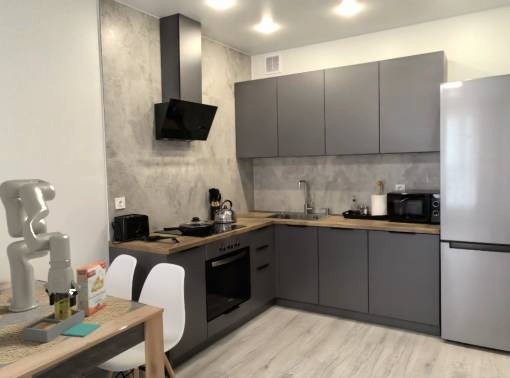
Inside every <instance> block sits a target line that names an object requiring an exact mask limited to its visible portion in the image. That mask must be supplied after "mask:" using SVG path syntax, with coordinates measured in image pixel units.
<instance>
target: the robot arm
mask: <svg viewBox="0 0 510 378" xmlns="http://www.w3.org/2000/svg"><path fill="white" fill-rule="evenodd" d="M56 193H57V192H56V189H55V187H54V185H53V184H52V183H50V182H49V181H45V180H42V179H38V178H30V179H11V180H6V181H2V183H0V200H1V203H2V205H3V206H4V210H5V218H6V226H7V232H8V236H10V237H11V238H12V239H18V238H19V239H20V238H23V239H21V240H16V241H12V242H11V243H9V244H8V245H7V246H6V256H7V259H8V265H9V272H10V273H9V274H10V285H11V289H10V291H11V296H10V297H8V298H7V299H6V303H8V304H9V303H10V305H9V306H8V311H10V312H12V313H13V312H14V313H18V312H27V311H29V310H34V309H36V308H38V307H39V306H40V305H41V304H40V303H41V302H40V300H37V299H36V284H35V283H36V282H35V280H36V279H35V269H34V268H35V267H34V266H33V265H32V264H31V263H30V262H29V261H30V260H34V259H39V258H43V257H46V256H47V255H48V254H49V262H48V264H49V266H50V268H48V273H47V282H46V283H44V284H43V285H42V286H43V288H44V292H46V294H47V297H49V298H48V300H49V307H51V306H55V304H54V301H55V293H64V294H65V293H68V294H69V295H70V298H69V302H70V307H71V308H73V307H74V306H76V305H77V294H78V293H79V292H80V288H81V286H80V285H78V284H77V282H76V281H75V274H74V270H73V267H72V265H71V264H72V261H71V260H72V259H71V258H72V257H71V242H70V240H71V239H70V236H69V234H67V233H62V231H61V232H60V231H53V232H52V231H51V232H48V226H47V222H46V220H45V218H47V217H48V216H49V214H50V209H49V207H48V205H47V202H49V201H50V202H51V201H52V200H54V199H55V197H56Z"/></svg>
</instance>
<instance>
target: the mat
mask: <svg viewBox="0 0 510 378" xmlns="http://www.w3.org/2000/svg"><path fill="white" fill-rule="evenodd" d="M100 327H101V324H92V323H84V322H82V323H79V324H77V325H75V326H74V327H72V328H70V329H68V330H67V331H65V332H63V333H62V334H61V336H70V337H80V338H85V337H87V336H89V335H90V334H91V333H93V332H94V331H96V330H98V329H99V328H100Z"/></svg>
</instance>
